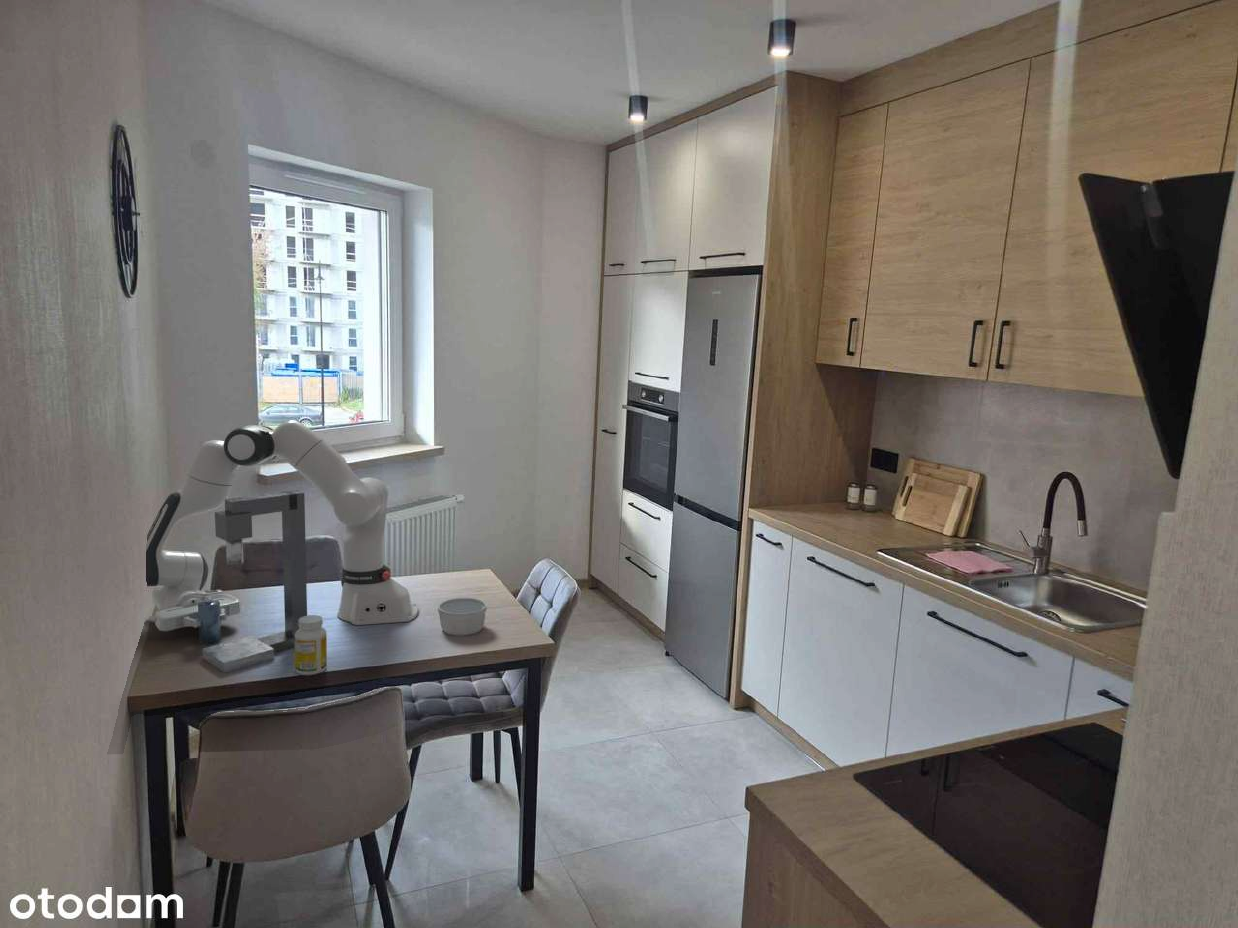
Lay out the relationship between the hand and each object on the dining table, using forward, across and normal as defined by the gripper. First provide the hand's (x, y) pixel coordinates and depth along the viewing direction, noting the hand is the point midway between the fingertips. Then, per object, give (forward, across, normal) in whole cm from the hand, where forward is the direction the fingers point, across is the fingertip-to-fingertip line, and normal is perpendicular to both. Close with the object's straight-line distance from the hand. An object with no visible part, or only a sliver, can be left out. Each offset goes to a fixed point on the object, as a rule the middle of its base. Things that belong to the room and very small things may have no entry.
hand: (211, 620), depth 202 cm
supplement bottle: (+33, +9, +6) cm, 35 cm away
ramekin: (+37, +52, +6) cm, 64 cm away
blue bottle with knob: (-1, 0, +6) cm, 6 cm away
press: (+15, +5, +6) cm, 17 cm away
